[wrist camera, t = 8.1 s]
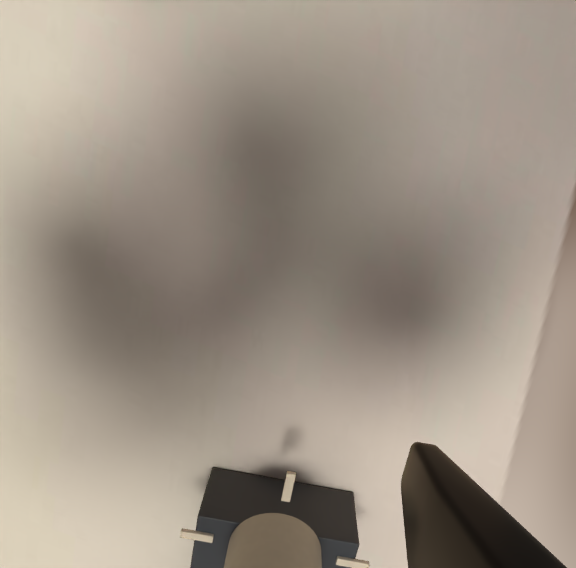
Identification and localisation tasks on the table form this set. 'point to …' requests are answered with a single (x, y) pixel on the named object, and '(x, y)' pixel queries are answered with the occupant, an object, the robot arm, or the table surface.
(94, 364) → the table surface
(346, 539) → the control panel
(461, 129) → the table surface
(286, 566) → the dial
